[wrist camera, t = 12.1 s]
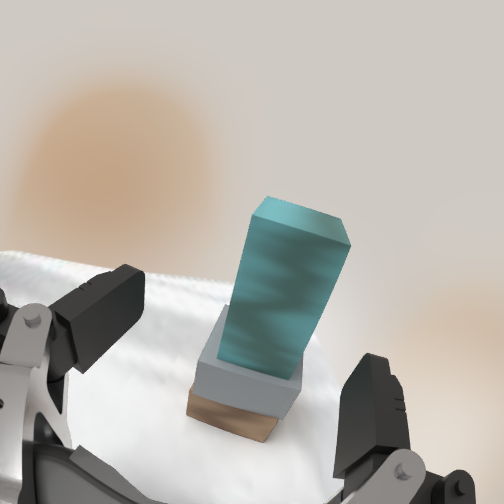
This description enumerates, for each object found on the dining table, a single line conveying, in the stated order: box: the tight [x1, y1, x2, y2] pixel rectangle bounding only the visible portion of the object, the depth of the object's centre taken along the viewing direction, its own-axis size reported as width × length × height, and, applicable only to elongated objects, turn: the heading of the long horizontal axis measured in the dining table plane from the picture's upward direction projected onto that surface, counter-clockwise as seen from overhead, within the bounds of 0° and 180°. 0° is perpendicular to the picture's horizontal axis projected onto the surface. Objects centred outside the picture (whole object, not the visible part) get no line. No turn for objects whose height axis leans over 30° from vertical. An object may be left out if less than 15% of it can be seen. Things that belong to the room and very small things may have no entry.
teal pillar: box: [216, 196, 351, 380], centre depth 17 cm, size 5×5×10 cm
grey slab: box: [192, 304, 303, 420], centre depth 21 cm, size 7×7×4 cm
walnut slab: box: [186, 383, 278, 443], centre depth 22 cm, size 7×7×4 cm
